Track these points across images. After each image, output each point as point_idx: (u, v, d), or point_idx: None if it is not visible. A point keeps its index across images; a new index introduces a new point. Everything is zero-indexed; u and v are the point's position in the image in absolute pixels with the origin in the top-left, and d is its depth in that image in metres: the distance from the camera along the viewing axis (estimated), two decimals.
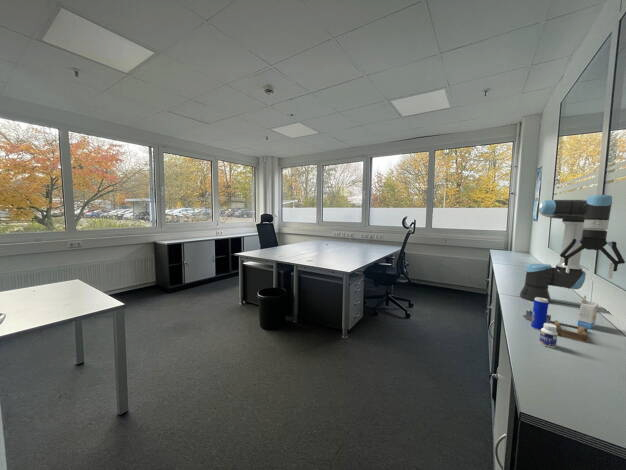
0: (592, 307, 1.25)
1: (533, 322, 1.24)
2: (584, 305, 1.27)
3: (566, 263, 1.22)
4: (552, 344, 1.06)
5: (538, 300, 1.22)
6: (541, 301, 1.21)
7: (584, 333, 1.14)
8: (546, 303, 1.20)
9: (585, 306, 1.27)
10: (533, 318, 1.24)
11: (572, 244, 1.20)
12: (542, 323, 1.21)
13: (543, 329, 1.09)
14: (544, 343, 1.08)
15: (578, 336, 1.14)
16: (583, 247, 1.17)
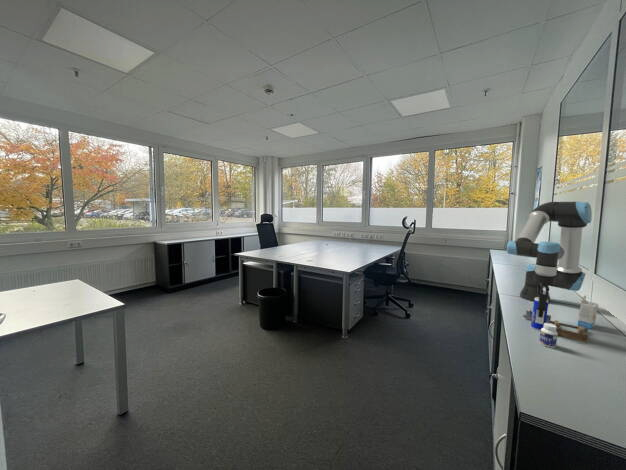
0: (592, 307, 1.25)
1: (533, 322, 1.24)
2: (584, 305, 1.27)
3: None
4: (552, 344, 1.06)
5: (538, 300, 1.22)
6: None
7: (584, 333, 1.14)
8: (546, 303, 1.20)
9: (585, 306, 1.27)
10: (533, 318, 1.24)
11: None
12: None
13: (543, 329, 1.09)
14: (544, 343, 1.08)
15: (578, 336, 1.14)
16: (537, 290, 1.25)
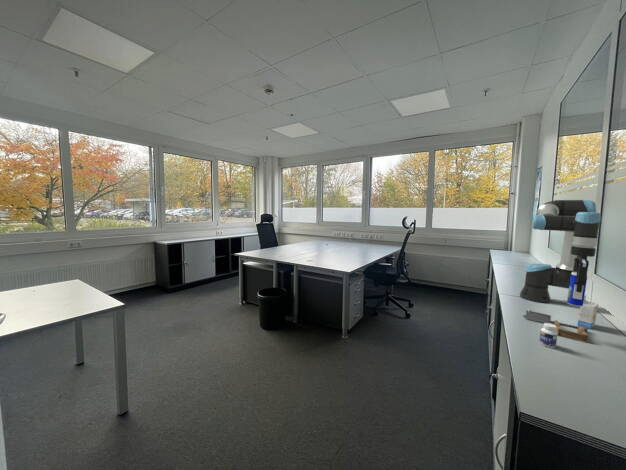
0: (592, 307, 1.25)
1: (570, 298, 1.16)
2: (584, 305, 1.27)
3: None
4: (552, 344, 1.06)
5: (576, 274, 1.14)
6: None
7: (584, 333, 1.14)
8: None
9: (585, 306, 1.27)
10: (570, 294, 1.17)
11: (574, 263, 1.20)
12: (580, 299, 1.14)
13: (543, 329, 1.09)
14: (544, 343, 1.08)
15: (578, 336, 1.14)
16: (574, 265, 1.18)
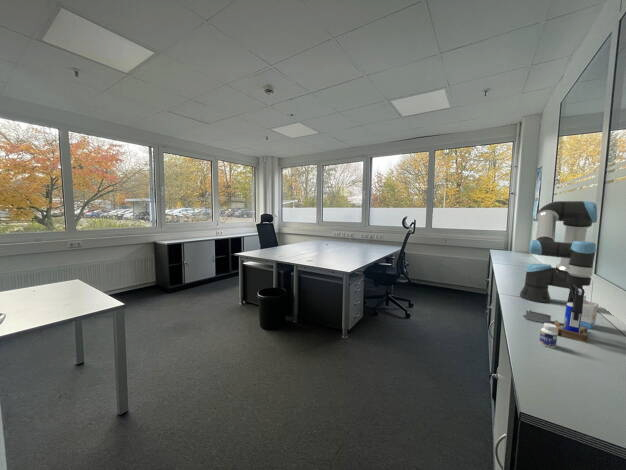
0: (592, 307, 1.25)
1: (565, 328, 1.18)
2: (584, 305, 1.27)
3: None
4: (552, 344, 1.06)
5: (571, 305, 1.16)
6: None
7: (584, 333, 1.14)
8: None
9: (585, 306, 1.27)
10: (565, 324, 1.18)
11: None
12: (576, 330, 1.16)
13: (543, 329, 1.09)
14: (544, 343, 1.08)
15: (578, 336, 1.14)
16: (570, 291, 1.19)
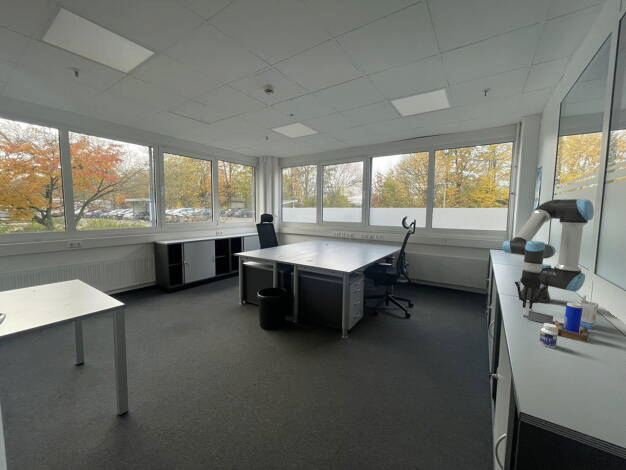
0: (592, 307, 1.25)
1: (565, 328, 1.18)
2: (584, 305, 1.27)
3: (524, 306, 1.35)
4: (552, 344, 1.06)
5: (571, 305, 1.16)
6: (575, 306, 1.15)
7: (584, 333, 1.14)
8: (580, 309, 1.15)
9: (585, 306, 1.27)
10: (565, 324, 1.18)
11: (518, 286, 1.36)
12: (576, 330, 1.16)
13: (543, 329, 1.09)
14: (544, 343, 1.08)
15: (578, 336, 1.14)
16: (526, 287, 1.34)
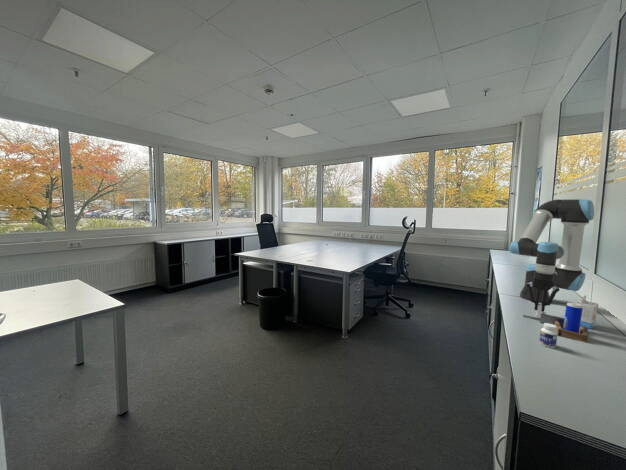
0: (592, 307, 1.25)
1: (565, 328, 1.18)
2: (584, 305, 1.27)
3: (536, 308, 1.32)
4: (552, 344, 1.06)
5: (571, 305, 1.16)
6: (575, 306, 1.15)
7: (584, 333, 1.14)
8: (580, 309, 1.15)
9: (585, 306, 1.27)
10: (565, 324, 1.18)
11: (530, 288, 1.33)
12: (576, 330, 1.16)
13: (543, 329, 1.09)
14: (544, 343, 1.08)
15: (578, 336, 1.14)
16: (538, 289, 1.31)
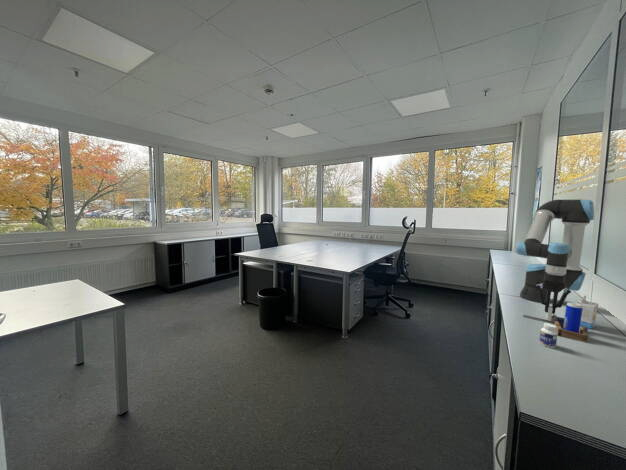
0: (592, 307, 1.25)
1: (565, 328, 1.18)
2: (584, 305, 1.27)
3: (546, 310, 1.30)
4: (552, 344, 1.06)
5: (571, 305, 1.16)
6: (575, 306, 1.15)
7: (584, 333, 1.14)
8: (580, 309, 1.15)
9: (585, 306, 1.27)
10: (565, 324, 1.18)
11: (540, 290, 1.31)
12: (576, 330, 1.16)
13: (543, 329, 1.09)
14: (544, 343, 1.08)
15: (578, 336, 1.14)
16: (549, 291, 1.28)
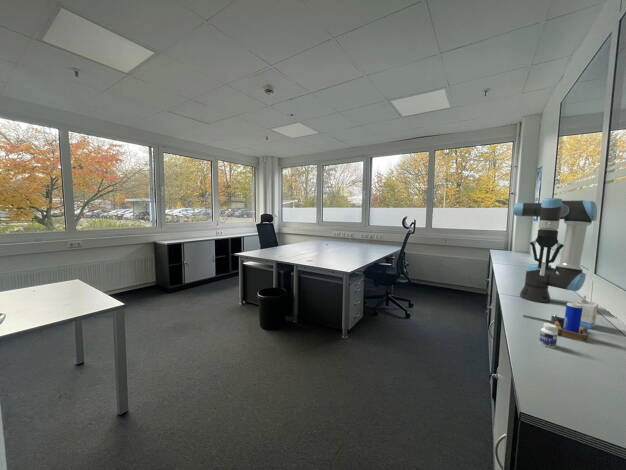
0: (592, 307, 1.25)
1: (565, 328, 1.18)
2: (584, 305, 1.27)
3: (540, 266, 1.30)
4: (552, 344, 1.06)
5: (571, 305, 1.16)
6: (575, 306, 1.15)
7: (584, 333, 1.14)
8: (580, 309, 1.15)
9: (585, 306, 1.27)
10: (565, 324, 1.18)
11: (533, 246, 1.31)
12: (576, 330, 1.16)
13: (543, 329, 1.09)
14: (544, 343, 1.08)
15: (578, 336, 1.14)
16: (542, 247, 1.29)
